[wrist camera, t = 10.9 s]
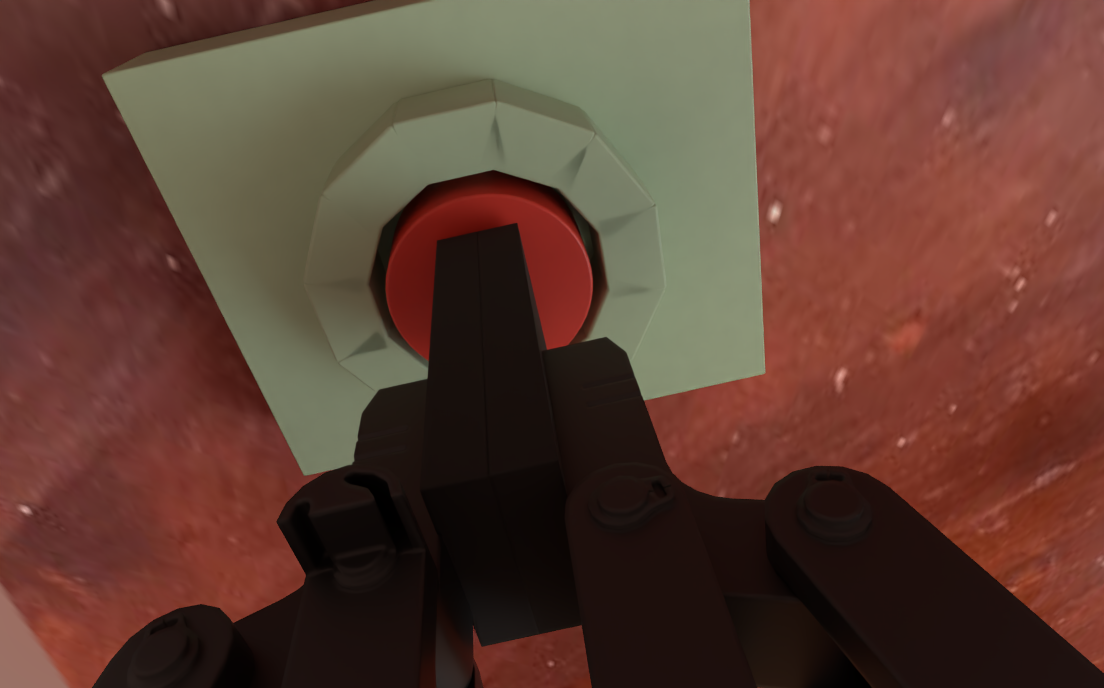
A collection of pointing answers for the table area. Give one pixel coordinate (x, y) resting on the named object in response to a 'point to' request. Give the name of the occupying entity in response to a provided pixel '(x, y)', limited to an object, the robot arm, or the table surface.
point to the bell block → (452, 152)
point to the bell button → (478, 207)
